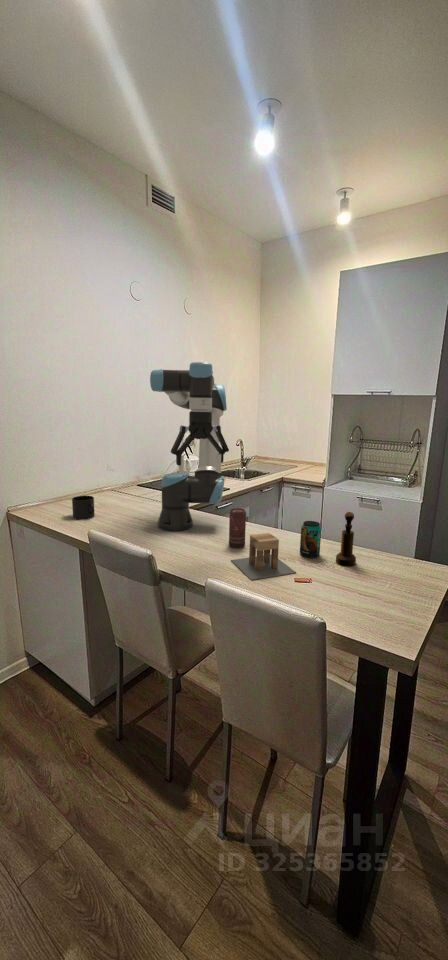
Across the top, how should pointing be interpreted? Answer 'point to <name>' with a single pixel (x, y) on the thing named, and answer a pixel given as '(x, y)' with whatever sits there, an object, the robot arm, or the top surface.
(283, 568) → the mat
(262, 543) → the stool
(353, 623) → the top surface
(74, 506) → the mug
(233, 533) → the can
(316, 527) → the beverage can
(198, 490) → the robot arm
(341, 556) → the dark brown chess piece
